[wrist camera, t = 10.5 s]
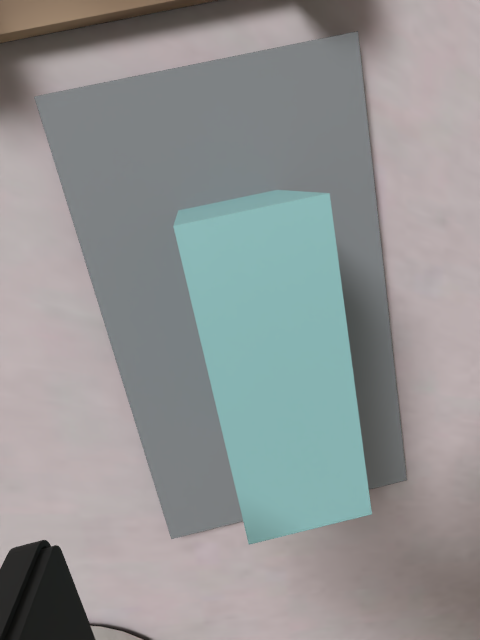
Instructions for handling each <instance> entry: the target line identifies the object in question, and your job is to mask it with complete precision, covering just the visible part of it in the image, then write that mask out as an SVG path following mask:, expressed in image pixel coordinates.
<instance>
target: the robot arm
mask: <svg viewBox="0 0 480 640" xmlns="http://www.w3.org/2000/svg"><path fill="white" fill-rule="evenodd" d="M0 640H143V639H141V638H138V637H136V636H133V635H131V634H128V633H126V632H123V631H119V630H115V629H110V628H106V627H101V626H90V624H89V621H88V618H87V616H86V613H85V611H84V608H83V605H82V603H81V600H80V598H79V595H78V592H77V590H76V587H75V584H74V582H73V579H72V577H71V574H70V571H69V569H68V566H67V564H66V561H65V558H64V556H63V553H62V551H61V549H60V547H59V546H56V545H55V546H52V547H51V545H50V544H49V542H48V541H46V540H41V541H38V542H34V543H30V544H26V545H22V546H19V547H15V548H13V549H11V550H10V551H9V553H8V554H7V556H6V559H5V561H4V563H3V565H2V567H1V569H0Z"/></svg>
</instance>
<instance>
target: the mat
mask: <svg viewBox="0 0 480 640" xmlns="http://www.w3.org/2000/svg"><path fill="white" fill-rule="evenodd" d="M34 98H35V101H36V104H37V107H38V111H39V114H40V117H41V120H42V124H43V127H44V130H45V133H46V136H47V140H48V143H49V146H50V149H51V153H52V156H53V159H54V162H55V165H56V169H57V172H58V175H59V178H60V182H61V185H62V188H63V191H64V194H65V198H66V201H67V204H68V207H69V211H70V214H71V217H72V220H73V223H74V227H75V230H76V233H77V236H78V240H79V243H80V246H81V249H82V252H83V256H84V259H85V262H86V265H87V269H88V272H89V275H90V278H91V281H92V285H93V288H94V291H95V294H96V298H97V301H98V304H99V307H100V310H101V314H102V317H103V320H104V323H105V327H106V330H107V333H108V336H109V339H110V343H111V346H112V349H113V352H114V356H115V359H116V362H117V365H118V368H119V372H120V375H121V378H122V381H123V385H124V388H125V391H126V394H127V397H128V401H129V404H130V407H131V410H132V414H133V417H134V420H135V423H136V427H137V430H138V433H139V436H140V439H141V443H142V446H143V449H144V452H145V456H146V459H147V462H148V465H149V468H150V472H151V475H152V478H153V481H154V485H155V488H156V491H157V494H158V497H159V501H160V504H161V507H162V510H163V514H164V517H165V520H166V523H167V526H168V530H169V533H170V536H171V539H174V538H178V537H182V536H186V535H190V534H194V533H198V532H202V531H206V530H210V529H214V528H218V527H222V526H226V525H230V524H234V523H238V522H242V521H243V518H242V513H241V509H240V505H239V501H238V496H237V492H236V488H235V484H234V480H233V475H232V471H231V467H230V463H229V459H228V454H227V450H226V446H225V442H224V437H223V433H222V429H221V425H220V421H219V416H218V412H217V408H216V404H215V400H214V395H213V391H212V387H211V383H210V379H209V374H208V370H207V366H206V362H205V357H204V353H203V349H202V345H201V341H200V336H199V332H198V328H197V324H196V320H195V315H194V311H193V307H192V303H191V299H190V294H189V290H188V286H187V282H186V277H185V273H184V269H183V265H182V261H181V256H180V252H179V248H178V244H177V240H176V235H175V231H174V227H173V226H174V222H175V219H176V216H177V213H178V210H183V209H188V208H193V207H197V206H202V205H207V204H212V203H217V202H221V201H226V200H231V199H236V198H241V197H245V196H250V195H255V194H260V193H264V192H269V191H274V190H288V191H303V192H318V193H330V200H331V208H332V215H333V223H334V231H335V238H336V246H337V253H338V261H339V269H340V276H341V284H342V291H343V299H344V307H345V314H346V322H347V329H348V337H349V344H350V352H351V360H352V367H353V375H354V382H355V390H356V398H357V405H358V413H359V420H360V428H361V436H362V443H363V451H364V458H365V466H366V474H367V481H368V489H373V488H377V487H381V486H385V485H389V484H393V483H397V482H401V481H405V480H407V478H406V469H405V459H404V450H403V441H402V432H401V423H400V414H399V405H398V395H397V386H396V377H395V368H394V359H393V350H392V340H391V331H390V322H389V313H388V304H387V295H386V285H385V276H384V267H383V258H382V249H381V240H380V230H379V221H378V212H377V203H376V194H375V185H374V176H373V166H372V157H371V148H370V139H369V130H368V121H367V111H366V102H365V93H364V84H363V75H362V66H361V56H360V47H359V38H358V31H357V32H352V33H347V34H342V35H337V36H332V37H327V38H322V39H317V40H312V41H307V42H302V43H297V44H292V45H287V46H282V47H277V48H272V49H267V50H262V51H258V52H253V53H248V54H243V55H238V56H233V57H228V58H223V59H218V60H213V61H208V62H203V63H198V64H193V65H188V66H183V67H178V68H173V69H168V70H163V71H159V72H154V73H149V74H144V75H139V76H134V77H129V78H124V79H119V80H114V81H109V82H104V83H99V84H94V85H89V86H84V87H79V88H74V89H69V90H64V91H59V92H55V93H50V94H45V95H40V96H35V97H34Z"/></svg>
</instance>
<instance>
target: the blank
mask: <svg viewBox="0 0 480 640" xmlns="http://www.w3.org/2000/svg"><path fill="white" fill-rule="evenodd" d="M173 227H174V231H175V235H176V240H177V244H178V248H179V252H180V256H181V261H182V265H183V269H184V273H185V277H186V282H187V286H188V290H189V294H190V299H191V303H192V307H193V311H194V315H195V320H196V324H197V328H198V332H199V336H200V341H201V345H202V349H203V353H204V357H205V362H206V366H207V370H208V374H209V379H210V383H211V387H212V391H213V395H214V400H215V404H216V408H217V412H218V416H219V421H220V425H221V429H222V433H223V437H224V442H225V446H226V450H227V454H228V459H229V463H230V467H231V471H232V475H233V480H234V484H235V488H236V492H237V496H238V501H239V505H240V509H241V513H242V518H243V522H244V526H245V530H246V534H247V539H248V543H249V544H253V543H257V542H261V541H265V540H269V539H274V538H278V537H282V536H286V535H290V534H294V533H298V532H302V531H306V530H310V529H314V528H318V527H322V526H326V525H330V524H334V523H338V522H342V521H346V520H350V519H355V518H359V517H363V516H367V515H371V514H372V512H371V504H370V496H369V489H368V481H367V474H366V466H365V458H364V451H363V443H362V436H361V428H360V420H359V413H358V405H357V398H356V390H355V382H354V375H353V367H352V360H351V352H350V344H349V337H348V329H347V322H346V314H345V307H344V299H343V291H342V284H341V276H340V269H339V261H338V253H337V246H336V238H335V231H334V223H333V215H332V208H331V200H330V193H318V192H303V191H288V190H274V191H269V192H264V193H260V194H255V195H250V196H245V197H241V198H236V199H231V200H226V201H221V202H217V203H212V204H207V205H202V206H197V207H193V208H188V209H183V210H178V213H177V216H176V219H175V222H174V226H173Z"/></svg>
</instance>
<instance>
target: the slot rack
mask: <svg viewBox="0 0 480 640" xmlns="http://www.w3.org/2000/svg"><path fill="white" fill-rule="evenodd" d="M212 1H218V0H0V43H3V42H8V41H13V40H18V39H23V38H29V37H34V36H39V35H44V34H49V33H54V32H59V31H64V30H69V29H75V28H80V27H85V26H90V25H95V24H100V23H105V22H110V21H115V20H121V19H126V18H131V17H136V16H141V15H146V14H151V13H156V12H161V11H166V10H172V9H177V8H182V7H187V6H192V5H197V4H202V3H207V2H212Z"/></svg>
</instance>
